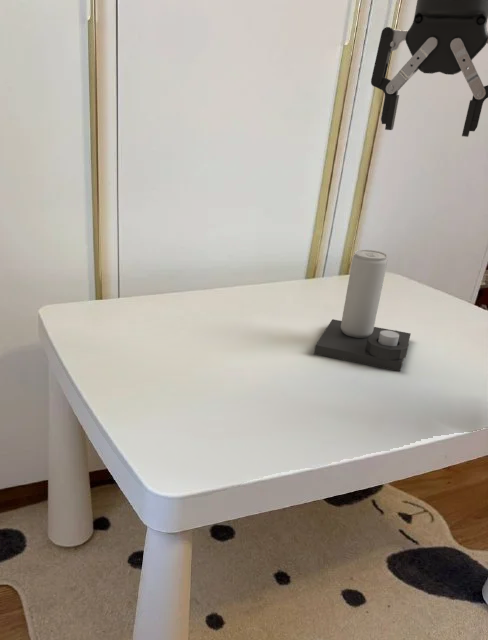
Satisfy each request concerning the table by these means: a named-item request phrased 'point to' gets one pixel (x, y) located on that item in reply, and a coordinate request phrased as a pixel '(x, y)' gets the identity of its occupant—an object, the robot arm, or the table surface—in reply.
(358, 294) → the beverage can
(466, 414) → the table surface
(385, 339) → the button
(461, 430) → the table surface
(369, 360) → the scale
